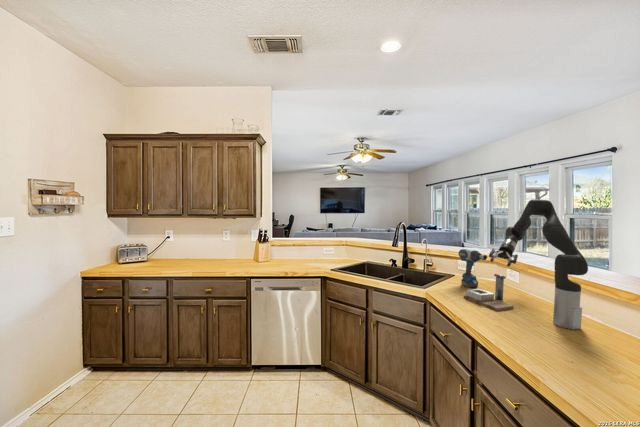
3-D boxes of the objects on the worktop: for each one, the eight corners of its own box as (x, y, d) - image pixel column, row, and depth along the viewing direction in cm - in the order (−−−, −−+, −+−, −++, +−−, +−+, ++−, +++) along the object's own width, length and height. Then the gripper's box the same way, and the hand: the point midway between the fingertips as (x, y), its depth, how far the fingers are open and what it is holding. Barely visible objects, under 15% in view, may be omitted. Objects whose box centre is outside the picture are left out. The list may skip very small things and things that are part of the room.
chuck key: (506, 300, 172) (507, 276, 171) (501, 301, 170) (502, 276, 170) (495, 296, 178) (496, 273, 178) (490, 297, 177) (491, 273, 176)
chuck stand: (513, 308, 158) (513, 299, 158) (497, 311, 154) (497, 301, 154) (478, 296, 179) (478, 288, 179) (463, 298, 175) (463, 289, 174)
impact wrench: (479, 292, 188) (481, 253, 186) (454, 282, 209) (456, 247, 208) (489, 291, 190) (491, 252, 189) (463, 281, 211) (465, 247, 210)
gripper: (495, 240, 188) (486, 255, 178) (521, 246, 178) (514, 262, 169) (494, 249, 191) (486, 264, 182) (520, 255, 182) (512, 271, 173)
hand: (499, 263), depth 176 cm, fingers open, 8 cm apart
